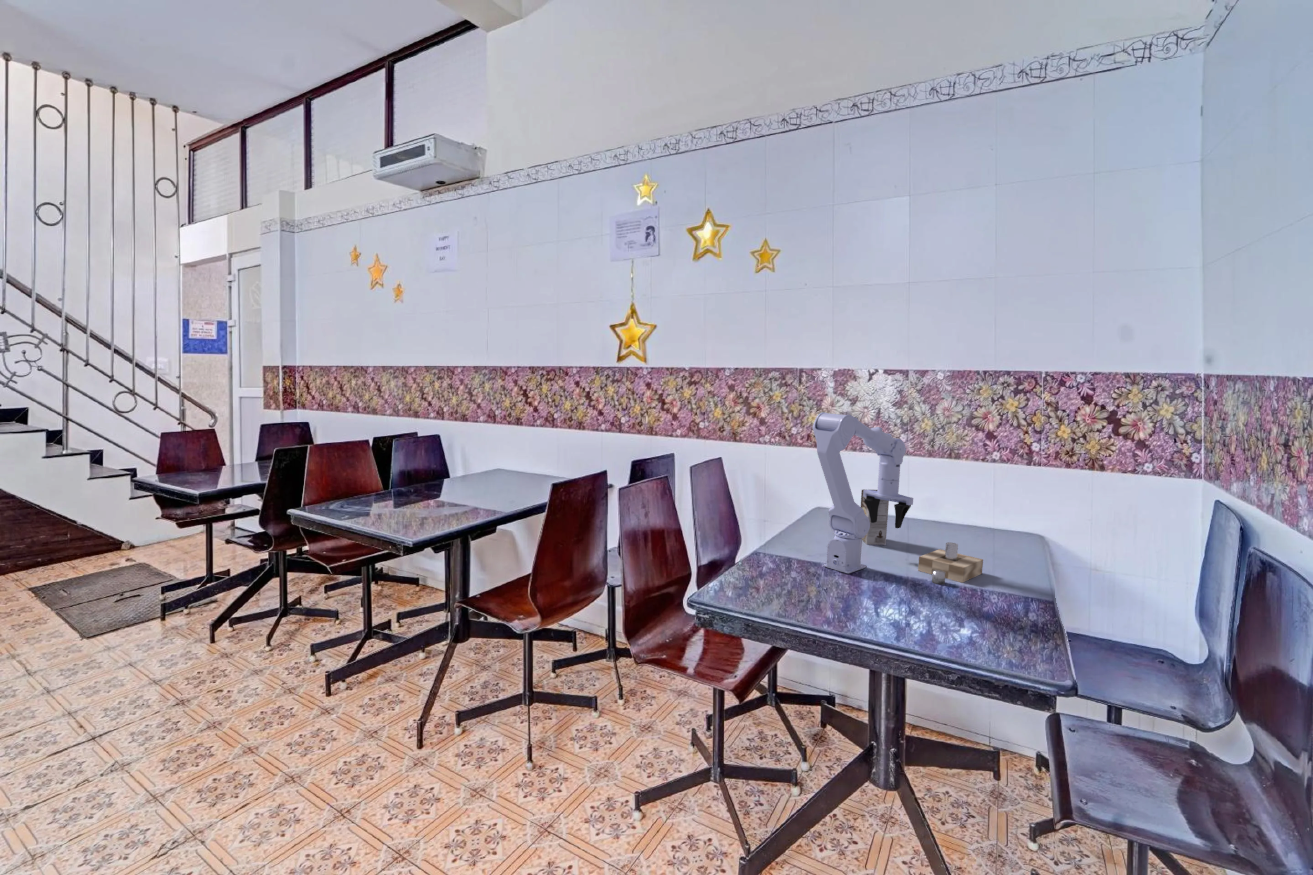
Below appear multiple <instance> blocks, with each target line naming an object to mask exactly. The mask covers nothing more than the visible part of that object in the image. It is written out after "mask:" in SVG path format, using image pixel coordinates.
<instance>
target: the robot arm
mask: <svg viewBox="0 0 1313 875" xmlns="http://www.w3.org/2000/svg"><path fill="white" fill-rule="evenodd" d="M812 431H813V434H814V438H815V441H816V452H817V453H816V454H817V457H818V460H819V463H820V467H821V470H822V474H823V477H824V479H825V481H826V485H827V489H828V492H829V494H830V498H831V501H832V505H831V507H830V508H829V509H828V511H827V512H828V516H829V519H828V520H829V527H830V528H831V530H832V533H833V534H834V537H833V538H832V539H831V540H830V541H829V542H828V544H827V546H826V547H827V549H826V551H827V552H826V553H827V554H826V563H824V564H823V567H824V568H825V567H826V568H828V569H832V570H835V571H837V572H841V573H845V574H852V573H854V572H857V571H860V570H863V569H865V568H867V567H868V565H867V564H864V563H862V549H863V548H862V546H863V545H862V544H863V540H862V538H864V537H865V535H866V534H867V533H868V531H869V528H870V521H869V518H868V517H867V516H866V515H865V513H864V510H863V509H862V508H861V505H858V503H856V501H855V499H854V496H853V493H852V489H851V486H850V482H849V479H848V477H847V476H848V475H847V472H846V470H845V469H846V468H845V466H844V463H843V459H842V457H841V451H844V450H845V449H846V448H847V446H848V445H849V443H850V442H851V440H852V438H854V437H853V436H856V437H857V438H860V439H862V441H863V444H864V446H866V447H868V448H870V449H871V450H873V451H875V453H876V455H877V456H879V460H878V461H879V462H878V475H877V476H878V478H877V490H878V491H874V490H875V489H862V490H863V497H867V498H866V499H864V502H865V504H866V506H867V508H868V511H869V514H870V519H871V523H875V522H877V516H878V507H879V503H880V499H882V500H887V501H889V502H894V503H895V504H893V507H894V512H895V520H894V522H895V523H894V527H895V528H894V529H900V528H901V527H902V524H903V521H904V519H905V517H906V515H907V513H908V511H910V508H911V507H912V506H913V505H914V497H911V496H907V495H904V494H903V495H902V494H900V493H899V491H900V490H899V489H900V488H899V487H900V476H901V472H900V471H901V465H902V464H903V459H904V456H905V455H906V453H907V452H906V451H907V447H906V444H905V442H904V441H903V440H902V438H898V437H897V438H896V437H893V436H892V434H891V433H888V432H887V433H886V432H885V431H883V428H882V427H881V426H880V427H879V426H875V427H868V426H867V425H866V424H864V423H863V422H862V421H860V420H859V418H858V417H855V416H854V415H851V414H841V413H840V414H839V413H838V414H837V413H829V412H825V411H823V412H820V413H819V414H818V415H817V416H816V417H815V418H814V422H813V425H812Z"/></svg>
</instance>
